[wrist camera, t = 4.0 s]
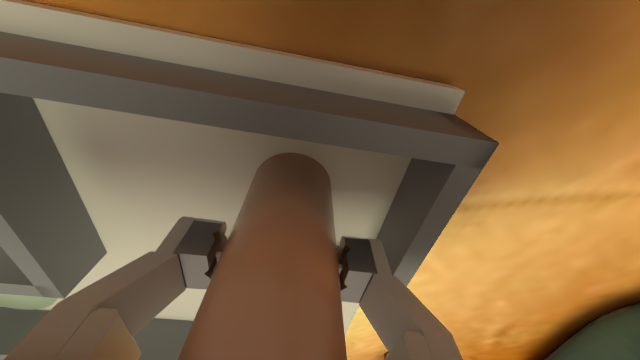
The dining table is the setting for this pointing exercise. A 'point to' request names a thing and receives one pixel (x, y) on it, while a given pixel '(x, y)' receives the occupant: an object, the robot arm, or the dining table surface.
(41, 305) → the pad
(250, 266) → the peg
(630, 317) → the casserole dish
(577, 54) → the dining table surface
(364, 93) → the channel
